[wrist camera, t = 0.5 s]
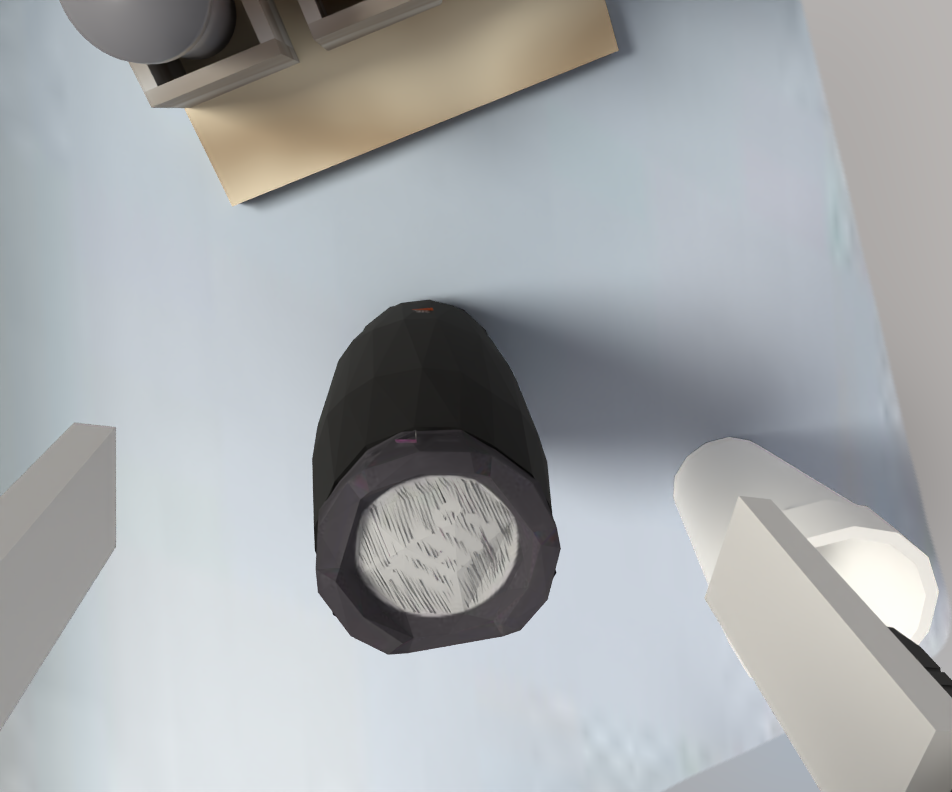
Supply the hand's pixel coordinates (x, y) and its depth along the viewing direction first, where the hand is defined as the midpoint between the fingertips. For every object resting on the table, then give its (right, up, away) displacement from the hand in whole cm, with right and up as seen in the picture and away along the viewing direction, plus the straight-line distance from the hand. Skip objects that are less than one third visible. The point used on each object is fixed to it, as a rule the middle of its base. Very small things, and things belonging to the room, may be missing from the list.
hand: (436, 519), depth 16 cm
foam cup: (+16, -3, +30) cm, 34 cm away
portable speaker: (-2, +4, +26) cm, 26 cm away
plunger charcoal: (-11, +18, +14) cm, 25 cm away
